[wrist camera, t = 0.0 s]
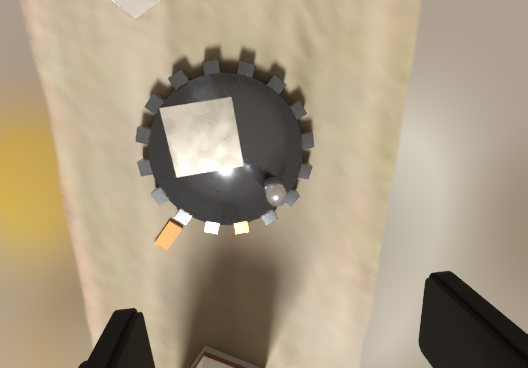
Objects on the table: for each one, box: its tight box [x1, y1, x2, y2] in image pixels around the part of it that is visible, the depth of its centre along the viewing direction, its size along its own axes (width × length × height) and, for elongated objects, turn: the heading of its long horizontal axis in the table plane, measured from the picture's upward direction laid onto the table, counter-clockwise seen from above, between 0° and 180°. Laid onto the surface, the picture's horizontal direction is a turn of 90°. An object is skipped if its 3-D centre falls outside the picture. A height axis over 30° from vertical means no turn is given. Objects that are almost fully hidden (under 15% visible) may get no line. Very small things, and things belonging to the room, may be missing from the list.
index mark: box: [154, 220, 183, 250], centre depth 42 cm, size 4×2×1 cm, turn 144°
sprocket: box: [136, 59, 314, 234], centre depth 36 cm, size 22×22×6 cm
